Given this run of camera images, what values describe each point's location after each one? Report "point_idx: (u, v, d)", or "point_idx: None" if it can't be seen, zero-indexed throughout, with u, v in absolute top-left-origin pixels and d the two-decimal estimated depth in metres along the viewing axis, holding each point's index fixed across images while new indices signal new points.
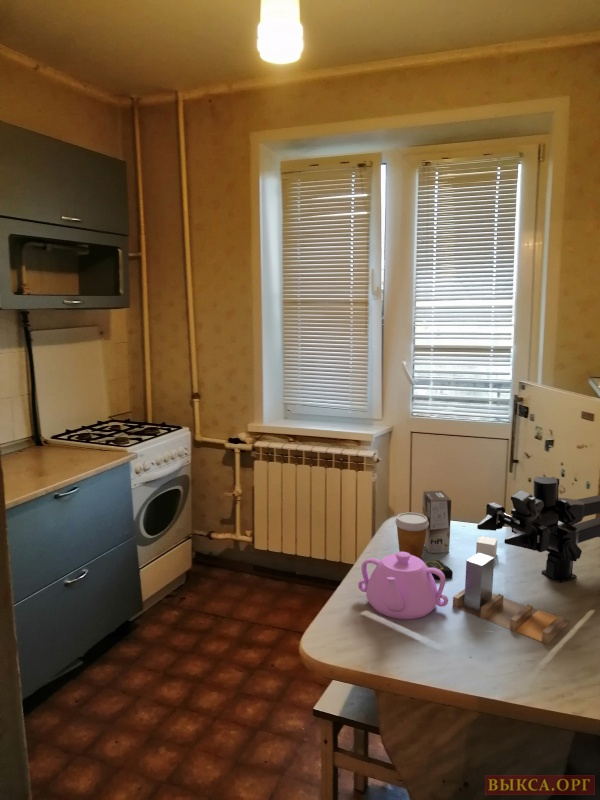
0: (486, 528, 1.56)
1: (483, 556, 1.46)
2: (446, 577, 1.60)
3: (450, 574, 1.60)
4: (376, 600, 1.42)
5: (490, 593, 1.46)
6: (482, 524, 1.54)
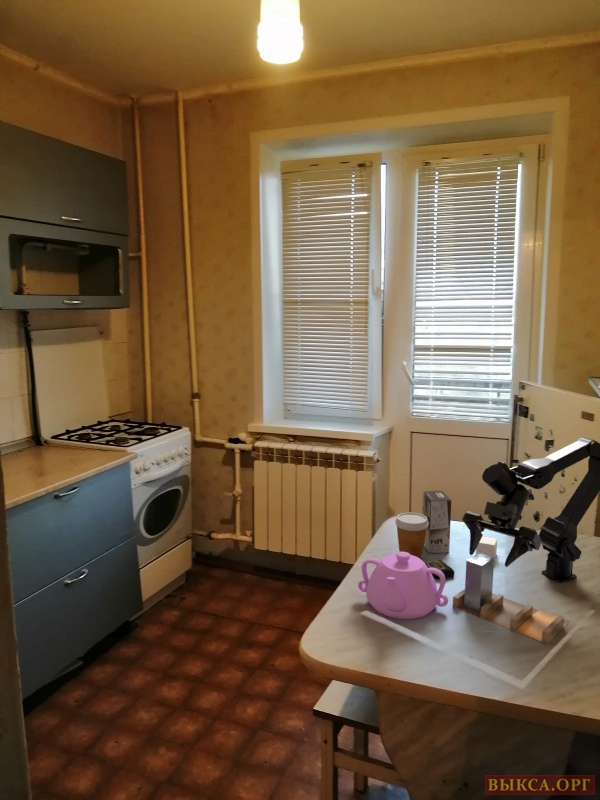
0: (476, 546, 1.53)
1: (483, 556, 1.46)
2: (448, 577, 1.61)
3: (452, 574, 1.61)
4: (376, 600, 1.42)
5: (490, 593, 1.46)
6: (472, 548, 1.51)
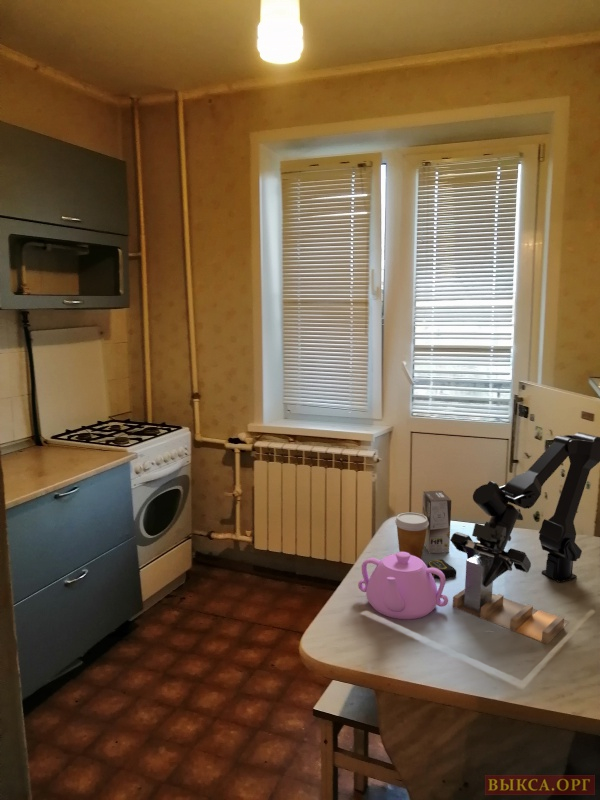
0: None
1: (483, 556, 1.46)
2: (450, 576, 1.61)
3: (454, 573, 1.61)
4: (376, 600, 1.42)
5: (490, 593, 1.46)
6: None
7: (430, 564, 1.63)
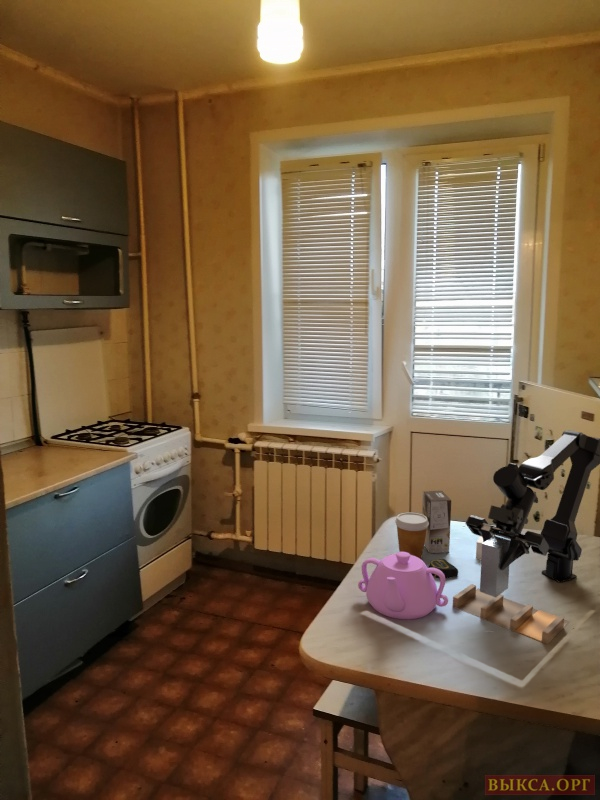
0: None
1: (499, 539, 1.42)
2: (452, 576, 1.61)
3: (456, 573, 1.61)
4: (376, 600, 1.42)
5: (506, 577, 1.43)
6: None
7: (432, 563, 1.63)
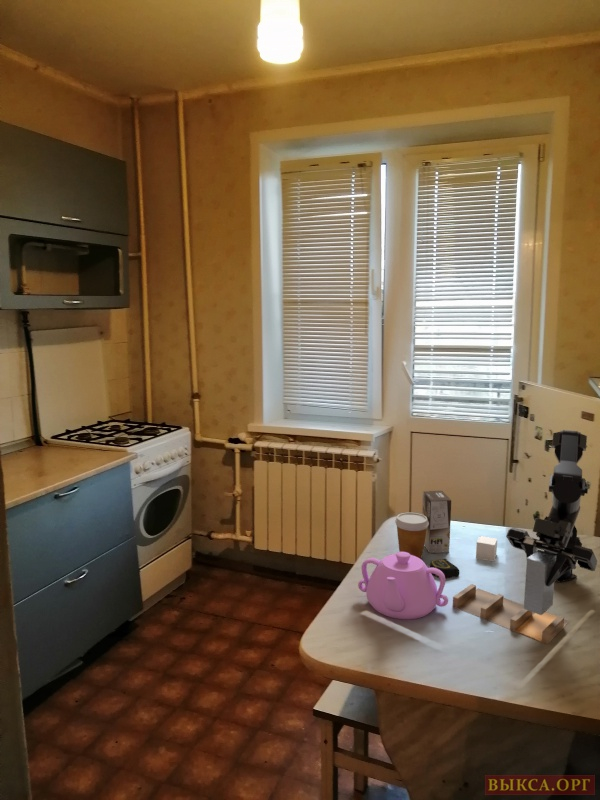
0: None
1: (544, 554, 1.35)
2: (453, 575, 1.61)
3: (457, 572, 1.61)
4: (376, 600, 1.42)
5: (551, 593, 1.35)
6: None
7: (433, 563, 1.63)
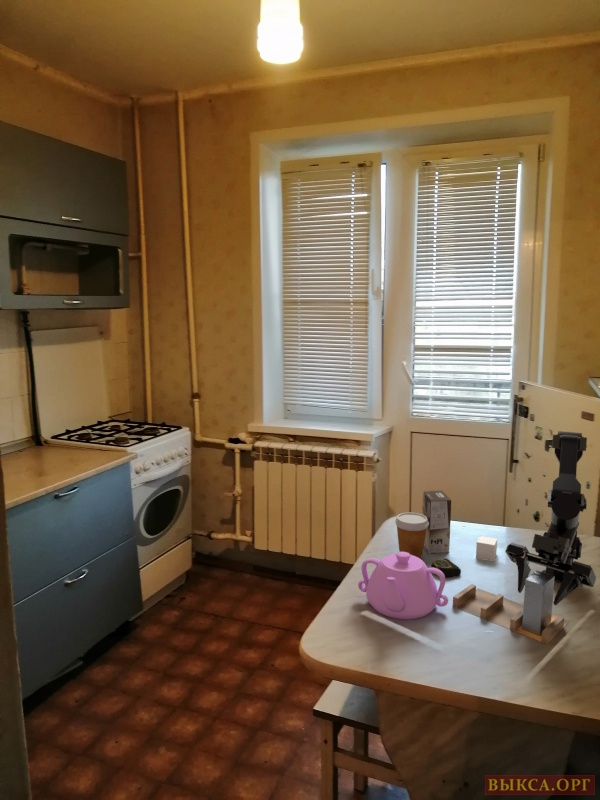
0: None
1: (542, 575, 1.36)
2: (454, 575, 1.61)
3: (458, 572, 1.61)
4: (376, 600, 1.42)
5: (550, 614, 1.36)
6: (521, 585, 1.37)
7: (435, 563, 1.64)
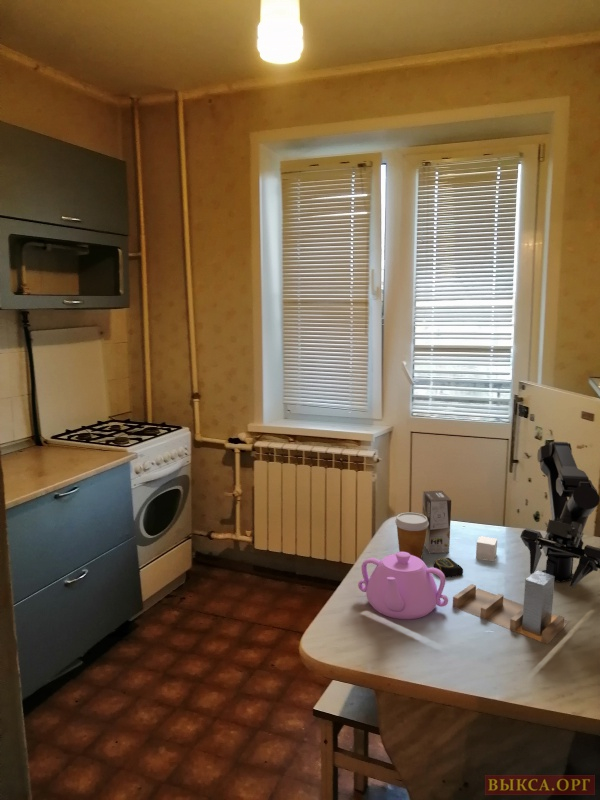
0: (536, 564, 1.47)
1: (542, 575, 1.36)
2: (456, 574, 1.62)
3: (460, 571, 1.62)
4: (376, 600, 1.42)
5: (550, 614, 1.36)
6: (533, 568, 1.45)
7: (437, 562, 1.64)
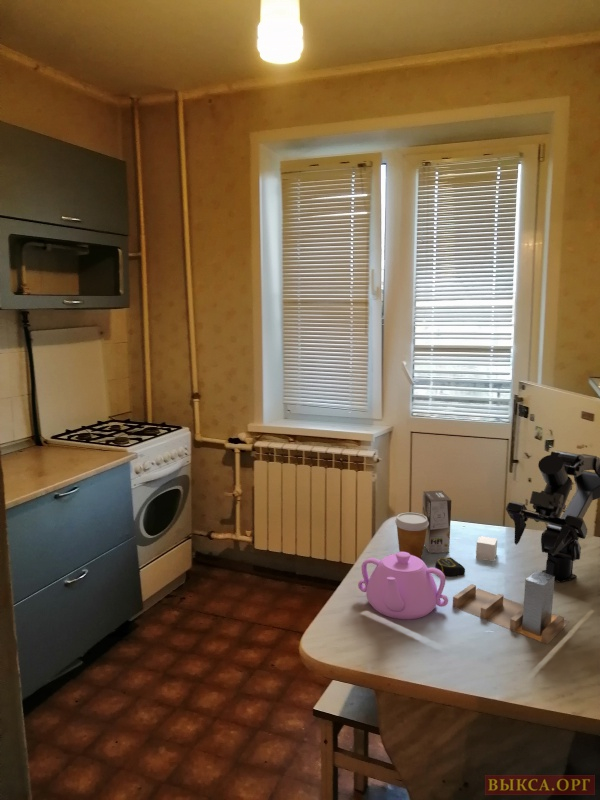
0: (521, 535, 1.53)
1: (542, 575, 1.36)
2: (458, 574, 1.62)
3: (462, 571, 1.62)
4: (376, 600, 1.42)
5: (550, 614, 1.36)
6: (517, 538, 1.52)
7: (439, 562, 1.64)
